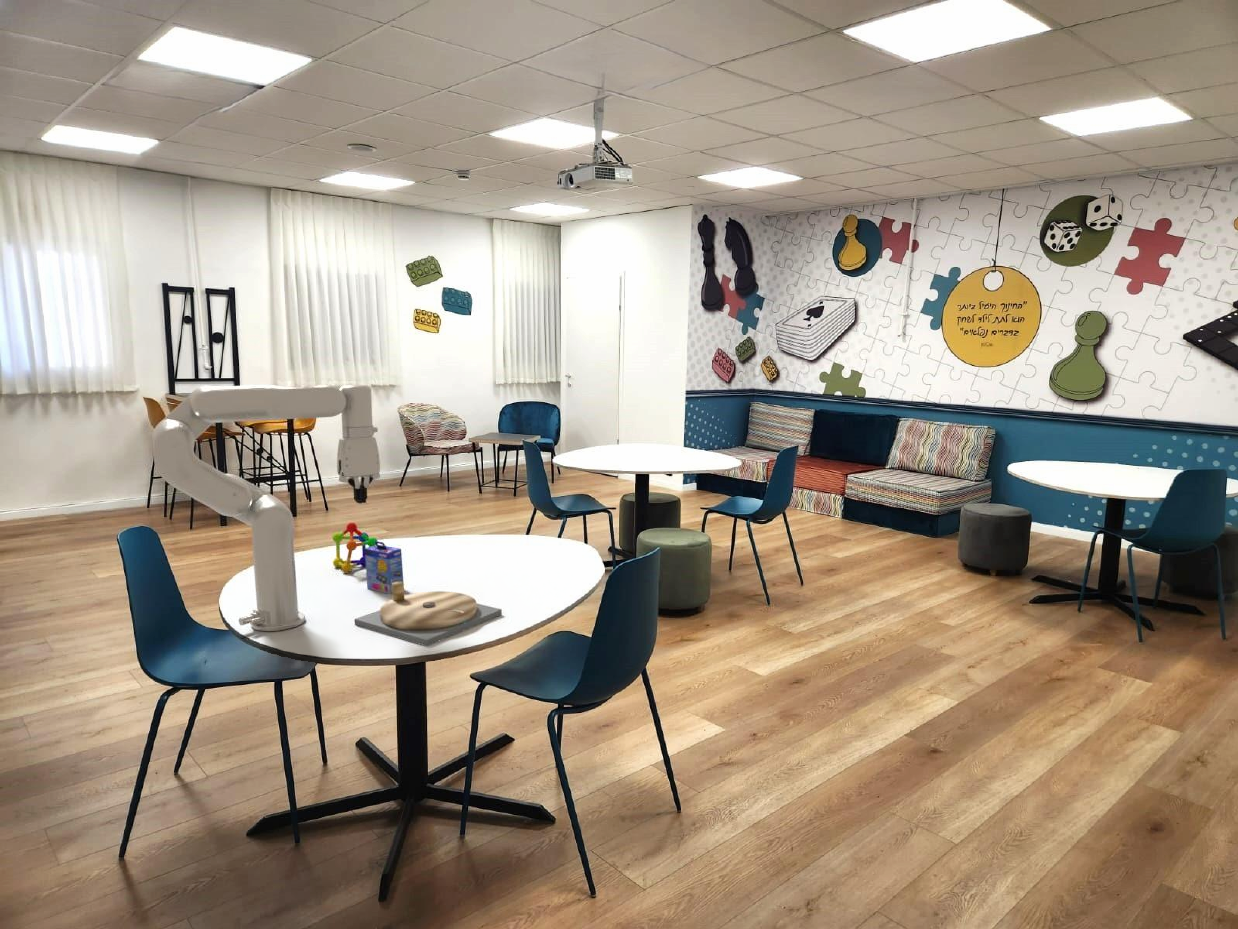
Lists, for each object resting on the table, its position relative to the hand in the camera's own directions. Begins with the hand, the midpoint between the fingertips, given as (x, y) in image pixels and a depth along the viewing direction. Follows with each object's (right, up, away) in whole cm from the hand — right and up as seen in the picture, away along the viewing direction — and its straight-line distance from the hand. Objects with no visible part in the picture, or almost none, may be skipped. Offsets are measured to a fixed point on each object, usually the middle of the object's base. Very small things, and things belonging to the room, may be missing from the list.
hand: (360, 502), depth 213 cm
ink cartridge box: (0, -26, +21) cm, 34 cm away
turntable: (+19, -28, -5) cm, 34 cm away
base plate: (+19, -30, -5) cm, 36 cm away
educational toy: (-16, -23, +44) cm, 52 cm away
